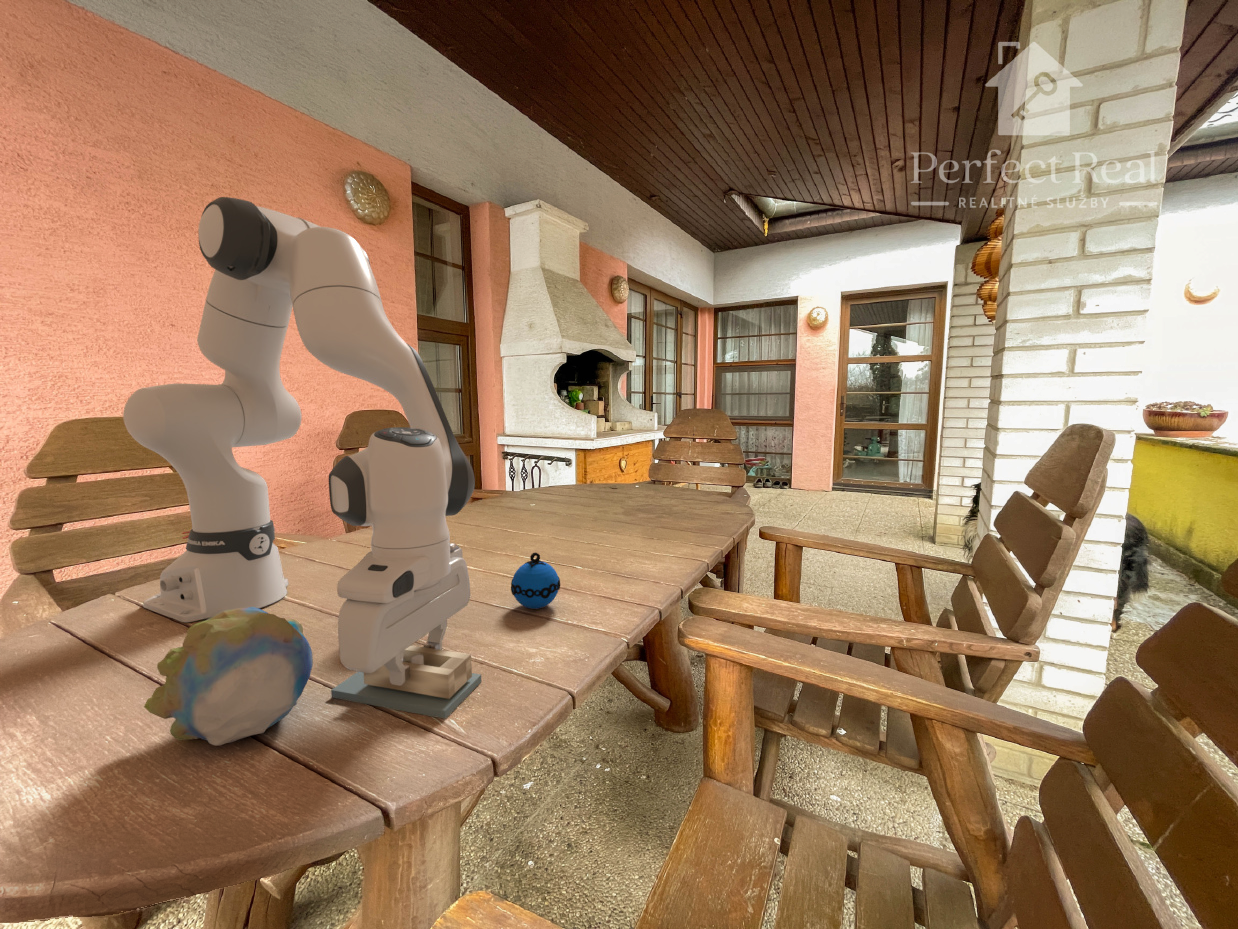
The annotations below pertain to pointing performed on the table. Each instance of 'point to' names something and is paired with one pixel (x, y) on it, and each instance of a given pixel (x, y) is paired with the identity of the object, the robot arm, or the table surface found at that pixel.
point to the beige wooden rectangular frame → (428, 672)
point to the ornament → (535, 583)
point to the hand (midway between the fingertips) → (417, 668)
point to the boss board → (403, 695)
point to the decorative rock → (233, 676)
